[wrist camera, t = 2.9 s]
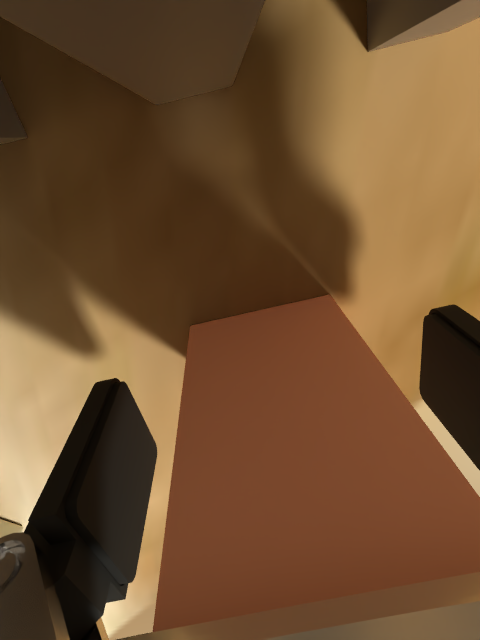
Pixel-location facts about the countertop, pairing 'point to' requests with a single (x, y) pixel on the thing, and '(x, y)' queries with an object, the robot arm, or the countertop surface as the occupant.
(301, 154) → the countertop surface
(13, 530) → the skincare box
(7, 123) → the tile
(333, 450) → the head tile
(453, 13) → the tile
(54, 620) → the robot arm
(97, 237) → the countertop surface
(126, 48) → the tile
